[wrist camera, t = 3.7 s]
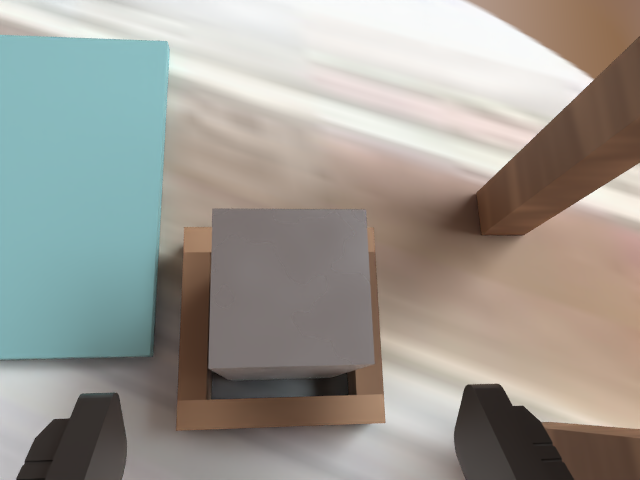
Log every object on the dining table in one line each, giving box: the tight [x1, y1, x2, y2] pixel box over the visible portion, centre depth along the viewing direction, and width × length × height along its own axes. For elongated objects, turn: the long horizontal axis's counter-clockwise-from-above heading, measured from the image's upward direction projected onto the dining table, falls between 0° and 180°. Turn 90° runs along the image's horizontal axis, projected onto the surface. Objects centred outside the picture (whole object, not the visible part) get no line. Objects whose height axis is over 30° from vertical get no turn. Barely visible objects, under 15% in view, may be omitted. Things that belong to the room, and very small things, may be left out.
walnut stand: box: [176, 37, 640, 480], centre depth 14 cm, size 15×12×18 cm
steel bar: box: [208, 209, 375, 381], centre depth 18 cm, size 4×4×9 cm
